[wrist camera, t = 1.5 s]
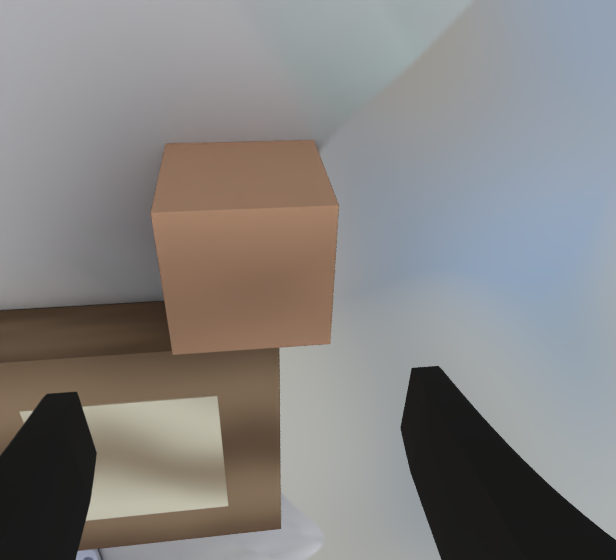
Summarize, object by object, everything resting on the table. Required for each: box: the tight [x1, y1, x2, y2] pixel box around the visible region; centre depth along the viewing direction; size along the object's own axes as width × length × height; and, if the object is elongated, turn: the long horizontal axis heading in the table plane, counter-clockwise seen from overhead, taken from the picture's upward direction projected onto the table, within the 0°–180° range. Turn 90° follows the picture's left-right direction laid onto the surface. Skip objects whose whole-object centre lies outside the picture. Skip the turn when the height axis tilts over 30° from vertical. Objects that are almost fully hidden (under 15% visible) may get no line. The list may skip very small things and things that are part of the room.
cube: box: [151, 140, 339, 355], centre depth 18 cm, size 5×5×5 cm
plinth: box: [0, 301, 281, 551], centre depth 24 cm, size 12×12×3 cm
